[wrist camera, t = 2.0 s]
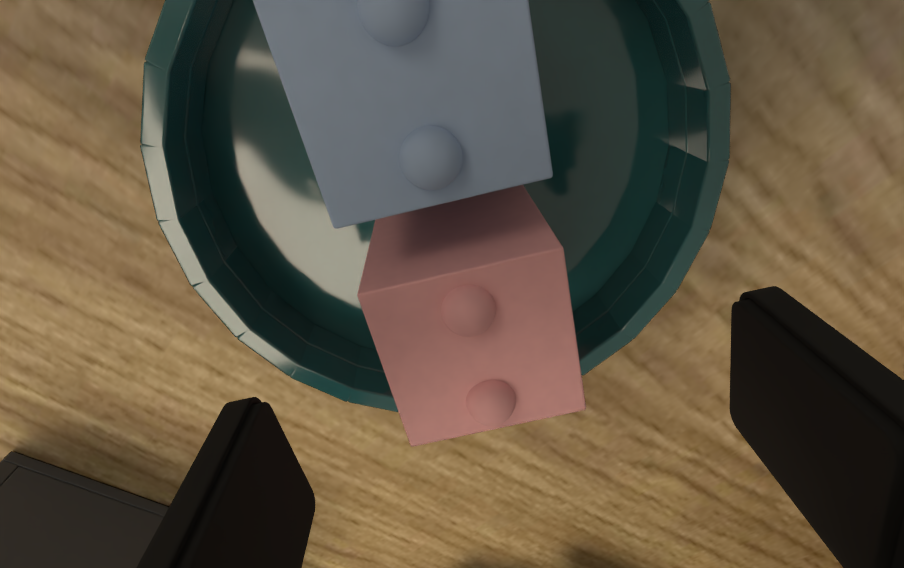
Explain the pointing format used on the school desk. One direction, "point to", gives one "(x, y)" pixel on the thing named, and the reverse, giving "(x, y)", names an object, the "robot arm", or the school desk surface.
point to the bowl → (345, 249)
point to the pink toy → (472, 316)
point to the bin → (69, 519)
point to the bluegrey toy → (410, 99)
